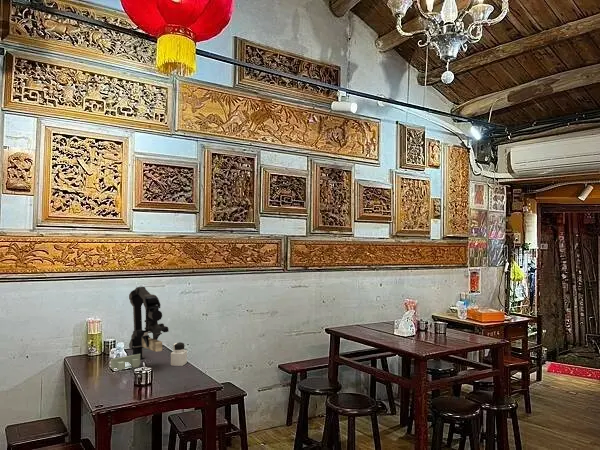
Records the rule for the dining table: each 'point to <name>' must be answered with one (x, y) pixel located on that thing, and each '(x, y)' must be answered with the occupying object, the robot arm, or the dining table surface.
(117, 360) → the grey block
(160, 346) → the rail
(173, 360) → the medicine bottle
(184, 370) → the dining table surface
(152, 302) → the robot arm
